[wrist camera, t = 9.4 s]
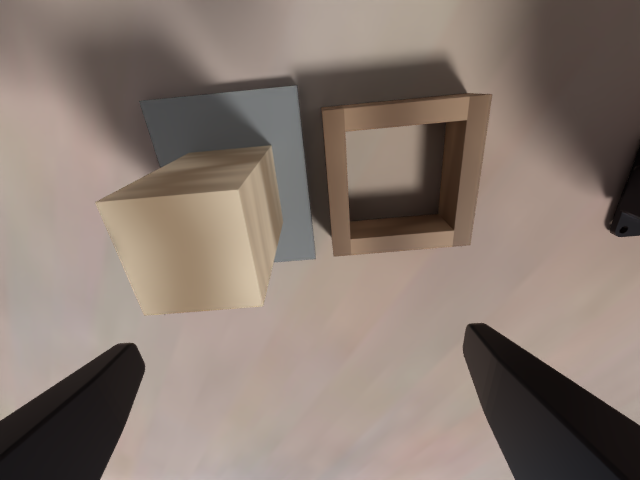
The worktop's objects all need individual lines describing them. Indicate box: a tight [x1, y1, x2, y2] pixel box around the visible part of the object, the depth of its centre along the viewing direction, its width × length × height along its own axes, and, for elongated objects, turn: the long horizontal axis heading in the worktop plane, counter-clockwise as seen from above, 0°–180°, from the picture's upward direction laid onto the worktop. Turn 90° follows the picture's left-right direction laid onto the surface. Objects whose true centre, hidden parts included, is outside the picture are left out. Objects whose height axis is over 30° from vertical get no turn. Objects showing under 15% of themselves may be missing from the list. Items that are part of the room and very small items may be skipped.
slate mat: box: [139, 85, 316, 262], centre depth 18 cm, size 8×10×1 cm
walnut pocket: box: [321, 93, 492, 256], centre depth 17 cm, size 8×8×2 cm
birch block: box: [95, 145, 283, 316], centre depth 14 cm, size 4×4×8 cm
